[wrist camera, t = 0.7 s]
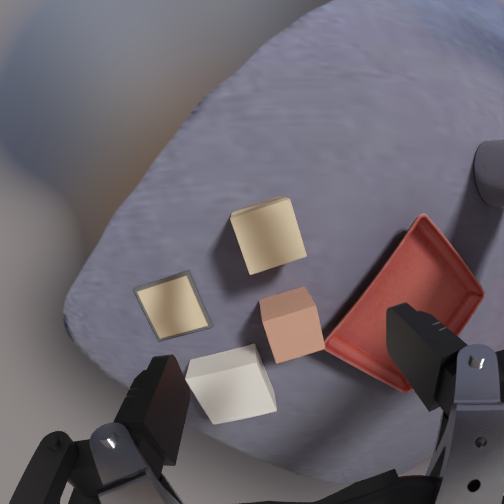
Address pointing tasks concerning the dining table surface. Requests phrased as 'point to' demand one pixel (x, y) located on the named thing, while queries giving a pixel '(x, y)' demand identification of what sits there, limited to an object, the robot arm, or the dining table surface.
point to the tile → (173, 306)
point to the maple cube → (268, 234)
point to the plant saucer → (406, 300)
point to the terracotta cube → (292, 324)
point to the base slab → (231, 385)
